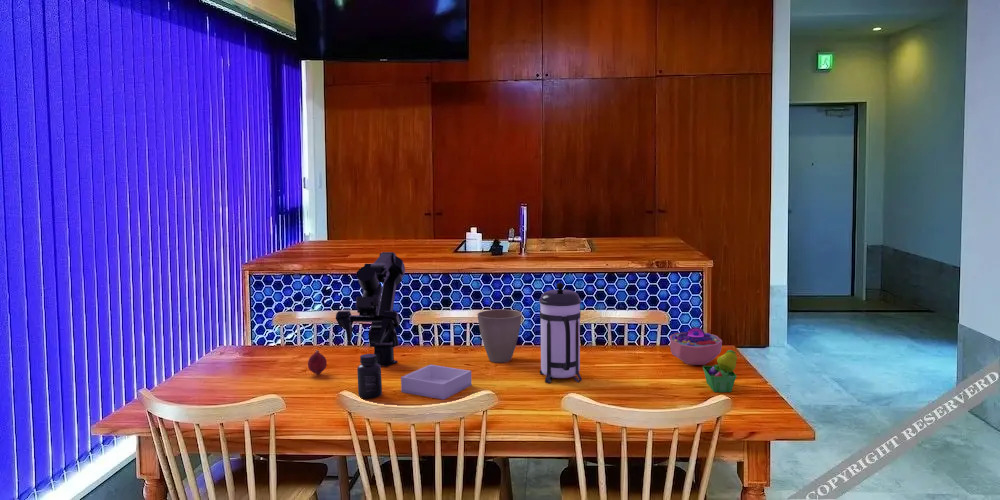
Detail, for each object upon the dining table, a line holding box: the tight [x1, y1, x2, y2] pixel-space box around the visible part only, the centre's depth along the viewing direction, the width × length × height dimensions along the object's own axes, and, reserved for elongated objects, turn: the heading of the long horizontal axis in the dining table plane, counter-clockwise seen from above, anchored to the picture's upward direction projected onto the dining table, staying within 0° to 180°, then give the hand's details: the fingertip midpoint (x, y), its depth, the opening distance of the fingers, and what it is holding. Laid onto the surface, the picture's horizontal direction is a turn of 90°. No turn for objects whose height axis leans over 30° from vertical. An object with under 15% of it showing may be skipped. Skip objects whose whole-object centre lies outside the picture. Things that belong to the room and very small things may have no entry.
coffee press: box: [538, 282, 583, 384], centre depth 234 cm, size 17×16×30 cm
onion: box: [307, 349, 328, 376], centre depth 244 cm, size 6×6×8 cm
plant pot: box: [477, 309, 523, 363], centre depth 258 cm, size 15×15×16 cm
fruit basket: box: [702, 349, 738, 393], centre depth 225 cm, size 11×9×11 cm
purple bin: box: [400, 364, 472, 400], centre depth 228 cm, size 15×15×4 cm
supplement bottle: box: [356, 353, 383, 400], centre depth 222 cm, size 7×7×12 cm
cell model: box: [669, 326, 723, 366], centre depth 251 cm, size 17×20×11 cm
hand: (364, 343), depth 229 cm, fingers open, 9 cm apart
